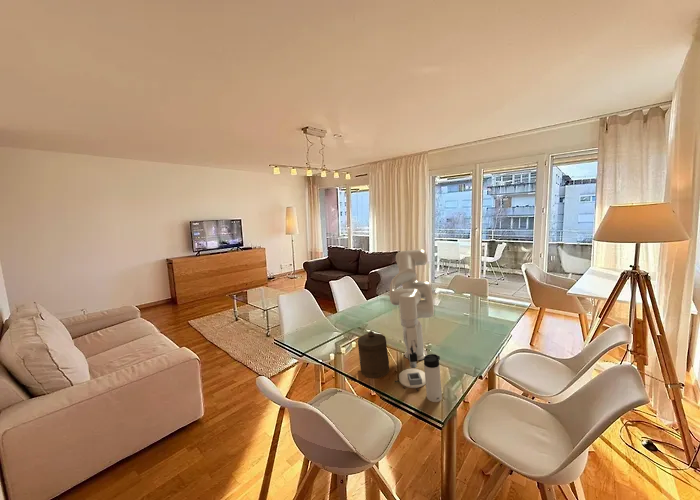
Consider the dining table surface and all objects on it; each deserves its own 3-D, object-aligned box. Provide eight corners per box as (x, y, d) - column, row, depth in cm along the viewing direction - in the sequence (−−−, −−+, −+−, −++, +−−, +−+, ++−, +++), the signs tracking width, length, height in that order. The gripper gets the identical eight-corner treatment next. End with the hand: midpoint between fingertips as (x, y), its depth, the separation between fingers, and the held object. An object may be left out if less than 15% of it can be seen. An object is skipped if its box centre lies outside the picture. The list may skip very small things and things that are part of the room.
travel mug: (442, 406, 117) (439, 361, 114) (426, 403, 119) (422, 359, 116) (443, 396, 122) (440, 353, 120) (427, 394, 125) (424, 352, 122)
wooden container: (371, 361, 157) (367, 324, 154) (395, 368, 147) (391, 329, 144) (355, 375, 146) (350, 335, 143) (379, 384, 136) (374, 341, 133)
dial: (397, 373, 141) (396, 365, 140) (422, 370, 141) (422, 362, 140) (402, 389, 128) (401, 381, 127) (430, 386, 128) (430, 378, 127)
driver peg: (408, 365, 131) (405, 342, 129) (416, 363, 130) (412, 341, 129) (410, 369, 127) (406, 346, 126) (418, 367, 127) (414, 344, 126)
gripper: (397, 315, 134) (401, 351, 136) (404, 329, 118) (408, 370, 120) (413, 313, 134) (416, 350, 136) (422, 327, 118) (426, 368, 120)
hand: (412, 359), depth 128 cm, fingers closed on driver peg, 3 cm apart
